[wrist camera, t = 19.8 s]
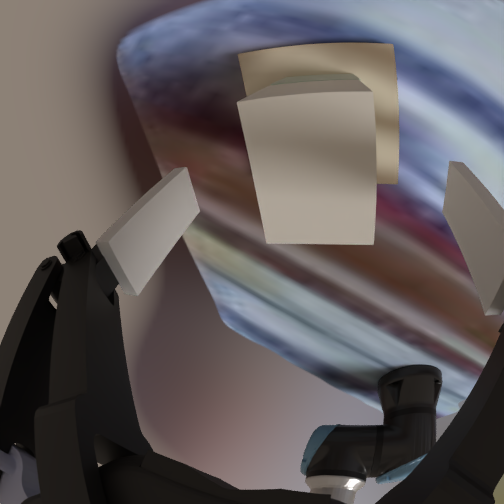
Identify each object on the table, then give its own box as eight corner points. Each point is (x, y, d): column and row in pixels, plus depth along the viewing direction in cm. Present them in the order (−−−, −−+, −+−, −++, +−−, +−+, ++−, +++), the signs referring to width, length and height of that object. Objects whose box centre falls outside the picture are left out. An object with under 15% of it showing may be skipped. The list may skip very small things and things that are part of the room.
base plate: (395, 178, 26) (397, 184, 25) (266, 178, 31) (263, 184, 30) (389, 44, 18) (393, 44, 17) (242, 54, 22) (237, 54, 21)
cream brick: (364, 187, 19) (373, 244, 14) (286, 188, 21) (266, 243, 16) (358, 79, 15) (372, 91, 10) (268, 85, 17) (236, 101, 11)
